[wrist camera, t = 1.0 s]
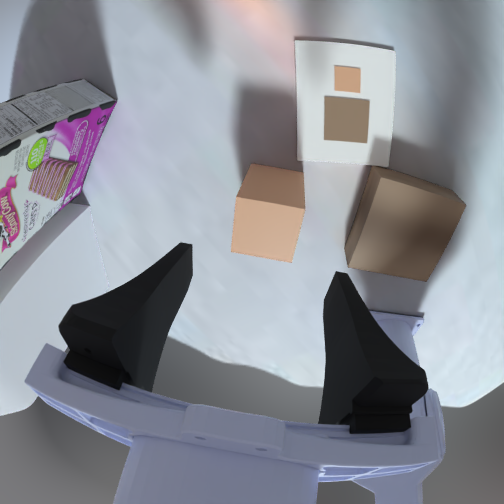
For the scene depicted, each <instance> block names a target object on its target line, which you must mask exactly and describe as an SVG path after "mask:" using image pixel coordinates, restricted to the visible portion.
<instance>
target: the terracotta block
mask: <svg viewBox="0 0 504 504" xmlns="http://www.w3.org/2000/svg"><path fill="white" fill-rule="evenodd" d="M304 213H305V192H304V173H303V172H298V171H293V170H287V169H282V168H277V167H271V166H265V165H259V164H253V163H251V165H250V167H249V169H248V172H247V174H246V176H245V178H244V181H243V183H242V185H241V187H240V190H239V192H238V194H237V196H236V204H235V214H234V225H233V235H232V245H231V252H235V253H240V254H245V255H251V256H256V257H262V258H267V259H273V260H278V261H284V262H289V263H292V260H293V256H294V252H295V248H296V244H297V240H298V236H299V233H300V229H301V225H302V221H303V217H304Z"/></svg>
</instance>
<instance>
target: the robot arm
mask: <svg viewBox="0 0 504 504" xmlns="http://www.w3.org/2000/svg"><path fill="white" fill-rule="evenodd" d="M192 276H193V263H192V244H187V243H179V244H178V245H177V246H176V247H174V248H173V249H172V250H171V251H170V252H168V253H167V254H166V255H165V256H164V257H162V258H161V259H160V260H159V261H157V262H156V263H155V264H153V265H152V266H151V267H149V268H148V269H147V270H145V271H144V272H143V273H141V274H140V275H138V276H137V277H135V278H134V279H132V280H130V281H129V282H127V283H125V284H123V285H121V286H119V287H117V288H115V289H113V290H111V291H109V292H107V293H105V294H103V295H100V296H98V297H95V298H92V299H90V300H87V301H83V302H80V303H77V304H73V305H72V306H71V307H70V308H69V310H68V311H67V313H66V314H65V316H64V317H63V319H62V320H61V322H60V324H59V326H58V327H59V332H60V334H61V336H62V337H63V339H64V341H65V342H66V344H67V346H68V347H69V349H70V351H69V353H68V354H66V353H65V352H64V351H62V350H60V349H58V348H56V347H54V346H52V345H50V344H48V343H46V344H45V345H44V347H43V349H42V350H41V352H40V354H39V355H38V357H37V359H36V361H35V362H34V364H33V366H32V368H31V369H30V371H29V373H28V375H27V377H26V379H25V383H26V384H27V385H28V386H29V387H30V388H31V389H32V390H33V391H34V392H35V393H36V394H37V395H38V396H39V397H40V398H42V399H43V400H44V401H45V402H46V403H47V404H49V405H50V406H52V407H54V408H55V409H57V410H59V411H61V412H62V413H64V414H66V415H68V416H69V417H71V418H73V419H75V420H76V421H78V422H80V423H82V424H84V425H86V426H88V427H90V428H91V429H93V430H96V431H97V432H99V433H101V434H103V435H105V436H108V437H110V438H112V439H114V440H116V441H118V442H121V443H123V444H125V445H128V446H130V447H131V448H130V451H129V454H128V457H127V460H126V463H125V466H124V469H123V472H122V475H121V478H120V482H119V485H118V488H117V492H116V495H115V498H114V502H113V504H316V499H317V489H318V482H330V481H344V480H352V481H353V482H355V483H357V484H359V485H361V486H363V487H365V488H366V489H368V490H370V491H372V492H373V493H375V504H423V492H422V481H423V480H424V479H425V478H426V477H427V476H428V475H429V474H430V473H431V472H432V471H433V470H434V469H435V468H436V467H437V466H438V465H439V464H440V462H441V461H442V460H443V457H444V454H445V451H446V447H445V429H444V421H443V415H442V410H441V405H440V401H439V397H438V394H437V392H436V391H434V390H432V389H431V388H430V389H428V382H427V377H426V373H425V370H424V369H422V368H421V367H420V365H419V360H418V356H417V351H416V347H415V343H414V339H413V336H414V334H415V333H416V332H417V331H418V329H419V328H420V327H421V325H422V324H423V323H424V319H423V318H422V317H413V316H405V315H397V314H390V313H382V312H375V311H369V310H368V308H367V307H366V305H365V303H364V302H363V300H362V298H361V297H360V295H359V293H358V292H357V290H356V288H355V286H354V284H353V283H352V281H351V279H350V277H349V276H348V274H347V273H342V272H337V271H336V272H335V275H334V277H333V280H332V282H331V284H330V287H329V289H328V292H327V294H326V296H325V299H324V309H323V322H324V337H325V352H326V365H325V379H324V389H323V397H322V405H321V411H320V417H319V422H318V424H311V423H300V422H290V421H281V420H278V419H276V418H272V417H267V416H261V415H255V414H249V413H243V412H238V411H232V410H227V409H222V408H218V407H213V406H208V405H201V404H196V405H194V404H190V403H186V402H183V401H179V400H175V399H172V398H168V397H165V396H161V395H158V394H155V393H152V388H153V384H154V379H155V376H156V372H157V368H158V364H159V361H160V357H161V354H162V350H163V347H164V344H165V341H166V338H167V335H168V332H169V330H170V327H171V325H172V323H173V321H174V318H175V316H176V314H177V312H178V310H179V308H180V306H181V304H182V302H183V300H184V297H185V295H186V293H187V291H188V288H189V285H190V282H191V279H192Z"/></svg>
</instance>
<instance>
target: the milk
mask: <svg viewBox="0 0 504 504" xmlns="http://www.w3.org/2000/svg"><path fill="white" fill-rule="evenodd" d="M109 287H110V285H109V281H108V278H107V275H106V271H105V267H104V264H103V260H102V256H101V253H100V249H99V245H98V240H97V236H96V232H95V227H94V223H93V218H92V213H91V208H90V206H88V205H81V204H74V203H68V204H67V205H66V206H65V207H64V208H62V209H61V210H60V211H59V212H58V213H57V214H56V215H55V216H53V217H52V218H51V219H50V220H49V221H48V222H47V223H46V224H45V225H44V226H43V227H42V228H41V229H40V230H39V231H38V232H36V233H35V234H34V235H33V236H32V237H31V238H30V239H29V240H28V241H27V242H26V243H25V244H24V246H23V247H22V248H21V249H20V250H19V251H18V252H17V253H16V254H15V255H14V256H13V257H12V259H11V260H10V261H9V262H8V263H7V264H6V265H5V266H4V267H3V268H2V270H1V271H0V416H1V415H5V414H9V413H14V412H17V411H21V410H24V409H26V408H27V407H29V406H30V405H31V404H32V403H33V402H34V401H35V399H36V398H37V396H38V395H37V394H36V393H35V392H34V391H33V390H32V389H31V388H30V387H29V386H28V385H27V384H26V383H25V379H26V377H27V375H28V373H29V371H30V369H31V368H32V366H33V364H34V362H35V361H36V359H37V357H38V355H39V354H40V352H41V350H42V349H43V347H44V345H45V344H46V343H48V344H50V345H52V346H54V347H56V348H58V349H60V350H62V351H65V350H66V348H67V347H68V346H67V344H66V342H65V341H64V339H63V337H62V336H61V334H60V332H59V327H58V326H59V324H60V322H61V320H62V319H63V317H64V316H65V314H66V313H67V311H68V310H69V308H70V307H71V306H72V305H73V304H77V303H80V302H83V301H87V300H90V299H92V298H95V297H98V296H100V295H103V294H105V292H106V291H107V290H108V288H109Z"/></svg>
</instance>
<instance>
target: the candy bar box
mask: <svg viewBox="0 0 504 504" xmlns="http://www.w3.org/2000/svg"><path fill="white" fill-rule="evenodd" d="M116 103H117V100H115V99H114V98H113V97H111V96H110V95H108V94H106V93H104V92H103V91H101V90H99V89H98V88H97V87H95V86H94V85H92V84H91V83H89V82H87V81H86V80H84V79H79V80H74V81H70V82H66V83H62V84H58V85H55V86H51V87H47V88H44V89H41V90H37V91H34V92H31V93H28V94H25V95H22V96H19V97H16V98H14V99H10V100H8V101H5V102H3V103H0V271H1V270H2V268H3V267H4V266H5V265H6V264H7V263H8V262H9V261H10V260H11V259H12V257H13V256H14V255H15V254H16V253H17V252H18V251H19V250H20V249H21V248H22V247H23V246H24V244H25V243H26V242H27V241H28V240H29V239H30V238H31V237H32V236H33V235H34V234H35V233H36V232H38V231H39V230H40V229H41V228H42V227H43V226H44V225H45V224H46V223H47V222H48V221H49V220H50V219H51V218H52V217H53V216H55V215H56V214H57V213H58V212H59V211H60V210H61V209H62V208H64V207H65V206H66V205H67V204H68V203H70V202H71V201H72V200H73V199H74V198H76V197H77V196H78V195H79V194H80V193H81V190H82V187H83V184H84V180H85V178H86V175H87V172H88V169H89V166H90V163H91V160H92V158H93V155H94V153H95V150H96V147H97V145H98V143H99V140H100V138H101V135H102V133H103V131H104V128H105V126H106V124H107V122H108V119H109V117H110V115H111V113H112V111H113V109H114V107H115V105H116Z"/></svg>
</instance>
